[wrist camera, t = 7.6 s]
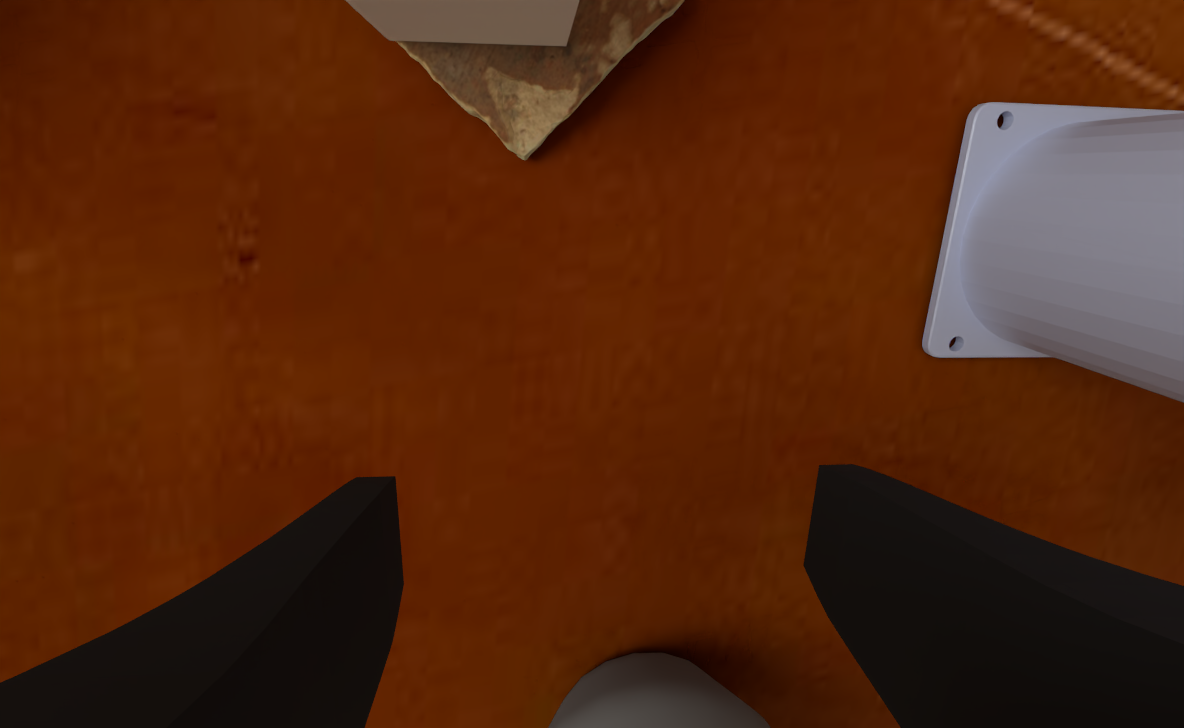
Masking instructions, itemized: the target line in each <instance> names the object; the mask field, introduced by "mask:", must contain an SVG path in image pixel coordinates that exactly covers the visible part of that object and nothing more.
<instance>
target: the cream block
mask: <svg viewBox="0 0 1184 728" xmlns="http://www.w3.org/2000/svg"><path fill="white" fill-rule="evenodd" d="M345 1H347V2H348V3H349V4H350V5H351V6H352V7H353V8H354V9H355V10H356V11H357V12H359V13H360V14H361V15H362V16H363V17H364V18H365V19H366V20H367V21H368V22H369V23H370V24H372V25H373V26H374V27H375V28H376V29H377V30H378V31H379V32H380V33H381V34H382V35H384V36H385V37H386V38H387V39H388V40H389V41H418V42H449V43H479V44H510V45H540V46H566V45H567V42H568V38H569V35H570V31H571V28H572V24H573V21H574V18H575V14H576V11H577V7H578V4H579V0H345Z"/></svg>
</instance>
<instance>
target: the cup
mask: <svg viewBox="0 0 1184 728" xmlns="http://www.w3.org/2000/svg"><path fill="white" fill-rule="evenodd" d="M548 728H771V727H770V726H769V724H768V723H767V722H766V721H765V719H764V718H763V717H762V716H761V715H760V714H758V713H757V712H756V711H755V710H754V709H752V708H751V707H750V706H748V705H747V704H746V703H744V702H743V701H742V700H741V699H739V698H738V697H737V696H735V695H734V694H733V693H731V692H730V691H729V690H728V689H726V688H725V687H724V686H722V685H721V684H720V683H718V682H717V681H716V680H714V679H713V678H712V677H710V676H709V675H708V674H706V673H705V672H704V671H702V670H701V669H700V668H699V667H697V666H696V665H694V664H693V663H691V662H690V661H689V660H686V659H682V658H679V657H676V656H672V655H669V654H666V653H632V654H629V655H626V656H623V657H619V658H616V659H613V660H609V661H606V662H604V663H603V664H601V665H600V666H598V667H597V668H595V669H593V670H592V671H590V672H589V673H587V674H586V675H584V676H583V677H581V679H580V680H579V681H578V682H577V683H576V685H575V686H574V687H573V688H572V690H571V691H570V692H569V693H568V695H567V696H566V697H565V699H564V700H563V702H562V704H561V705H560V707H559V709H558V711H557V713H556V714H555V716H554V718H553V720H552V722H551V724H550V725H549V727H548Z"/></svg>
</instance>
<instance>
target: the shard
mask: <svg viewBox="0 0 1184 728" xmlns="http://www.w3.org/2000/svg"><path fill="white" fill-rule="evenodd" d="M684 1H685V0H579V4H578V7H577V11H576V14H575V18H574V21H573V24H572V28H571V31H570V35H569V38H568V42H567V45H566V46H540V45H510V44H479V43H449V42H418V41H396V42H397V43H398V44H399V45H400V46H401V47H403V48H404V49H405V50H406V51H407V53H408V54H409V55H410V56H411V57H412V58H413V59H415V60H416V61H418V62H420V64H421V65H422V66H423V67H424V68H425V69H426V70H427V71H428V73H429V74H430V76H431V77H432V79H433V80H434V81H436V82H437V83H439V84H440V85H441V86H442V88H443V89H444V90H445V91H446V92H447V93H448V94H449V95H450V96H451V97H452V98H453V99H454V100H455V101H456V102H457V103H458V104H459V105H460V106H461V107H462V108H463V109H465V110H466V111H467V112H468V113H469V114H471V115H473V116H475V117H478V118H480V119H481V120H483V121H484V122H485V123H487V124H488V126H489V127H490V128H491V129H492V130H493V131H494V133H495V134H496V135H497V136H498V137H499V138H500V139H501V141H502V142H503V143H504V145H505V146H506V147H507V149H508V150H510V151H512V152H514V153H515V154H517V156H518V157H519V158H521V159H523V160H527V159H528V158H529V156H530V155H531V154H532V153H533V152H534V151H535V150H536V149H537V148H538V147H539V146H541V145H542V143H543V142H544V140H545V139H546V138H547V136H548V135H549V134H550V133H551V132H552V131H553V130H554V129H555V128H556V126H557V125H559V124H560V123H561V122H563V121H564V120H565V119H567V118H568V117H569V116H570V115H571V114H572V113H573V112H574V111H575V110H576V109H577V108H578V106H579V105H580V104H581V103H582V101H583V100H584V99H585V98H587V97H588V96H589V95H590V94H591V93H592V91H593V90H594V89H595V88H596V87H597V86H598V85H599V84H600V83H601V81H602V80H603V79H604V78H605V77H606V76H607V75H608V74H609V72H610V71H611V70H612V69H613V68H614V67H615V66H616V65H617V64H618V62H619V61H620V60H621V59H622V58H623V57H624V56H625V55H626V54H627V53H628V52H630V51H631V50H632V49H633V48H634V47H635V45H636V44H637V43H639V42H640V41H642V40H643V39H645V38H646V37H647V36H648V35H649V34H650V33H651V32H652V31H653V30H654V29H655V28H656V27H657V26H658V25H659V24H660V23H662V22H663V21H664V20H665V19H667V18H668V17H670V16H672V15H673V13H674V12H675V11H676V10H677V9H678V8H679V7H680V5H681V4H682V3H683V2H684Z"/></svg>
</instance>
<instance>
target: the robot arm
mask: <svg viewBox="0 0 1184 728" xmlns="http://www.w3.org/2000/svg"><path fill="white" fill-rule="evenodd" d="M1000 114H1002V116H1003V118H1004V122H1003V124H1002V126H1001V127H1000V128H999V127H998V126H997V119H998V117H999V115H1000ZM954 337H956V341H955V343H954V345H953V346H952V347H950V348H949V343H950V341H951V340H952V339H953V338H954ZM922 347H923V349H924V351H925V352H926V353H927V354H929V355H931V356H933V357H938V358H984V357H1055V358H1058V359H1060V360H1063V361H1066V362H1069V363H1072V364H1075V365H1078V366H1080V367H1083V368H1086V369H1089V370H1092V371H1095V372H1098V373H1101V374H1103V375H1106V376H1109V377H1112V378H1115V379H1118V380H1121V381H1123V382H1126V383H1129V384H1132V385H1135V386H1138V387H1141V388H1143V389H1146V390H1149V391H1152V392H1155V393H1158V394H1161V395H1163V396H1166V397H1169V398H1172V399H1175V400H1178V401H1181V402H1183V403H1184V111H1174V110H1152V109H1131V108H1109V107H1088V106H1066V105H1045V104H1023V103H1001V102H990V103H984V104H979V105H977V106H976V107H974V108H973V109H972V111H971V112H970V113H969V115H968V118H967V121H966V126H965V131H964V136H963V141H962V146H961V151H960V156H959V161H958V166H957V171H956V176H955V181H954V186H953V191H952V196H951V201H950V206H949V211H948V216H947V221H946V226H945V231H944V236H943V241H942V246H941V250H940V255H939V260H938V265H937V270H936V275H935V280H934V285H933V290H932V295H931V300H930V305H929V310H928V315H927V320H926V325H925V330H924V335H923V340H922ZM804 567H805V570H806V572H807V574H808V576H809V578H810V581H811V583H812V585H813V587H814V589H815V592H816V594H817V596H818V598H819V600H820V602H821V604H822V606H823V608H824V610H825V612H826V614H827V616H828V618H829V619H830V621H831V622H832V624H833V625H834V627H835V629H836V630H837V632H838V633H839V635H840V636H841V638H842V639H843V641H844V643H845V644H846V646H847V647H848V649H849V650H850V652H851V653H852V655H853V656H854V658H855V659H856V661H857V662H858V664H859V665H860V667H861V668H862V670H863V671H864V673H865V674H866V676H867V677H868V679H869V680H870V682H871V683H872V685H873V686H874V688H875V689H876V691H877V692H878V694H879V695H880V697H881V698H882V700H883V701H884V703H885V704H886V706H887V707H888V709H889V710H890V712H891V713H892V715H893V716H894V718H895V719H896V721H897V722H898V724H899V725H900V727H901V728H1184V586H1181V585H1178V584H1175V583H1171V582H1168V581H1164V580H1161V579H1158V578H1154V577H1151V576H1148V575H1144V574H1141V573H1138V572H1135V571H1132V570H1129V569H1126V568H1123V567H1120V566H1117V565H1114V564H1111V563H1107V562H1104V561H1101V560H1098V559H1095V558H1092V557H1089V556H1086V555H1083V554H1080V553H1078V552H1075V551H1072V550H1069V549H1066V548H1064V547H1061V546H1058V545H1055V544H1053V543H1050V542H1048V541H1045V540H1042V539H1040V538H1037V537H1035V536H1032V535H1029V534H1027V533H1024V532H1022V531H1019V530H1016V529H1014V528H1011V527H1009V526H1006V525H1004V524H1001V523H999V522H996V521H994V520H991V519H989V518H987V517H984V516H982V515H979V514H977V513H975V512H972V511H970V510H967V509H965V508H963V507H960V506H958V505H956V504H953V503H951V502H949V501H946V500H944V499H942V498H939V497H937V496H935V495H932V494H930V493H927V492H925V491H923V490H920V489H918V488H916V487H913V486H911V485H909V484H906V483H904V482H901V481H899V480H896V479H894V478H891V477H889V476H886V475H884V474H881V473H878V472H876V471H873V470H870V469H867V468H864V467H860V466H857V465H853V464H847V465H819V471H818V477H817V483H816V490H815V496H814V502H813V509H812V515H811V522H810V528H809V534H808V541H807V547H806V553H805V560H804ZM403 585H404V581H403V568H402V555H401V543H400V530H399V517H398V505H397V492H396V479H395V476H392V477H356V478H355V479H353V480H351V481H349V482H348V483H346V484H345V485H343V486H342V487H340V488H339V489H338V490H336V491H335V492H333V493H332V494H331V495H329V496H328V497H326V498H325V499H324V500H322V501H321V502H319V503H318V504H317V505H315V506H314V507H313V508H311V509H310V510H308V511H307V512H306V513H304V514H303V515H301V516H300V517H299V518H297V519H296V520H294V521H293V522H292V523H290V524H289V525H287V526H286V527H285V528H283V529H282V530H280V531H279V532H278V533H276V534H275V535H273V536H272V537H270V538H269V539H267V540H266V541H264V542H263V543H261V544H260V545H258V546H257V547H255V548H254V549H252V550H251V551H249V552H247V553H246V554H244V555H243V556H241V557H240V558H238V559H237V560H235V561H234V562H232V563H230V564H229V565H227V566H226V567H224V568H223V569H221V570H220V571H218V572H217V573H215V574H213V575H212V576H210V577H209V578H207V579H205V580H204V581H202V582H200V583H199V584H197V585H195V586H194V587H192V588H190V589H189V590H187V591H185V592H183V593H182V594H180V595H178V596H176V597H175V598H173V599H171V600H169V601H168V602H166V603H164V604H162V605H160V606H158V607H156V608H155V609H153V610H151V611H149V612H147V613H145V614H143V615H142V616H140V617H138V618H136V619H134V620H132V621H130V622H129V623H127V624H125V625H123V626H121V627H119V628H117V629H115V630H113V631H111V632H109V633H107V634H105V635H103V636H100V637H98V638H96V639H94V640H92V641H90V642H88V643H85V644H83V645H81V646H79V647H77V648H75V649H73V650H71V651H68V652H66V653H64V654H62V655H60V656H58V657H56V658H53V659H51V660H49V661H47V662H45V663H43V664H41V665H38V666H36V667H34V668H32V669H30V670H28V671H26V672H24V673H21V674H19V675H17V676H15V677H13V678H10V679H8V680H6V681H3V682H1V683H0V728H364V727H365V724H366V721H367V718H368V715H369V712H370V709H371V706H372V703H373V700H374V697H375V694H376V691H377V688H378V685H379V682H380V679H381V676H382V673H383V670H384V667H385V664H386V661H387V658H388V654H389V651H390V648H391V645H392V642H393V637H394V632H395V627H396V622H397V617H398V612H399V607H400V601H401V596H402V590H403Z"/></svg>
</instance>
